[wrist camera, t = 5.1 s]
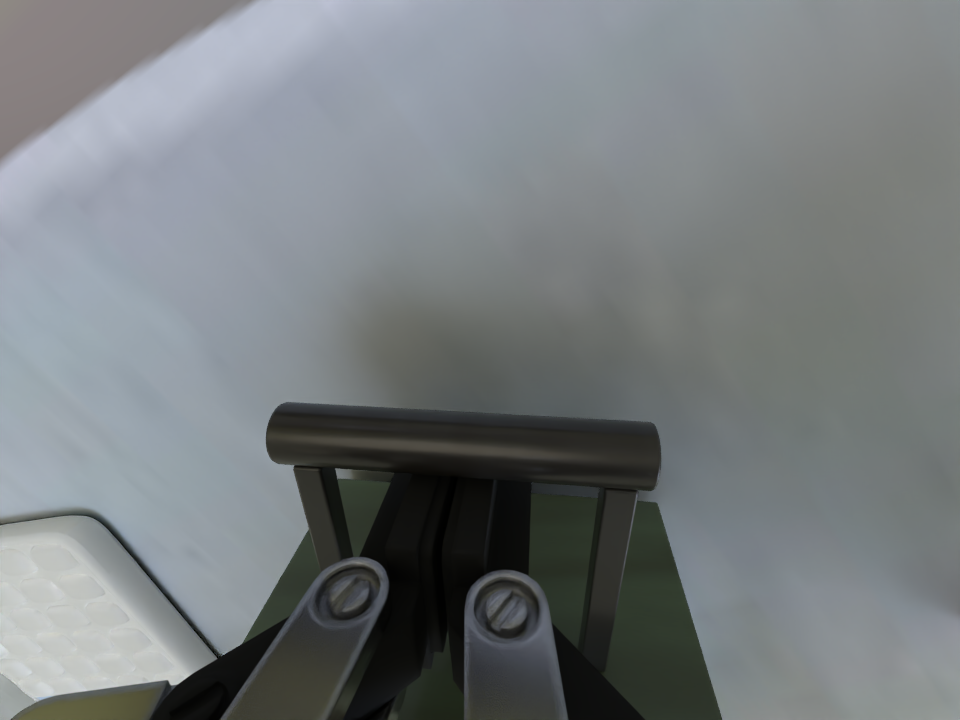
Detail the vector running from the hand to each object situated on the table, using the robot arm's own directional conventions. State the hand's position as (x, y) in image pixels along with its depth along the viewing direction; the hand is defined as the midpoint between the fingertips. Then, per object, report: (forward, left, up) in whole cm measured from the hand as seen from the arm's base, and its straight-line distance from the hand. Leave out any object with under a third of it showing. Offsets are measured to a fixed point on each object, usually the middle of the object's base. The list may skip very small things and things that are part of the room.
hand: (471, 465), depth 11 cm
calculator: (+25, -14, -5) cm, 30 cm away
